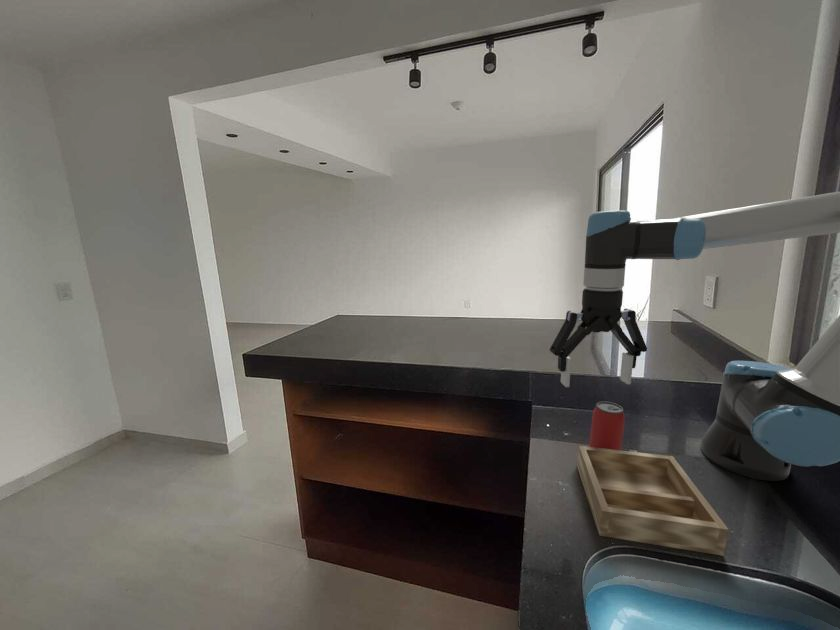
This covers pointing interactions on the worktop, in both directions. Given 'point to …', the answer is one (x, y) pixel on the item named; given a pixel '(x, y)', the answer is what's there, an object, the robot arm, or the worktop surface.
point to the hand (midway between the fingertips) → (595, 383)
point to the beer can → (607, 426)
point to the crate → (648, 501)
